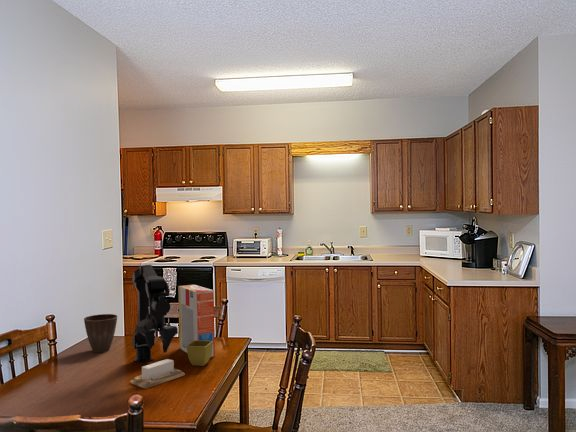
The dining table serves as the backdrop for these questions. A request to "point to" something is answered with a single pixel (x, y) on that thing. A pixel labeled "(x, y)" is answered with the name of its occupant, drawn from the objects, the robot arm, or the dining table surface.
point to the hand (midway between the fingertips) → (157, 350)
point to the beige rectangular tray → (156, 379)
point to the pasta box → (196, 315)
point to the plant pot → (100, 331)
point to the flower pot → (199, 352)
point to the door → (157, 369)
